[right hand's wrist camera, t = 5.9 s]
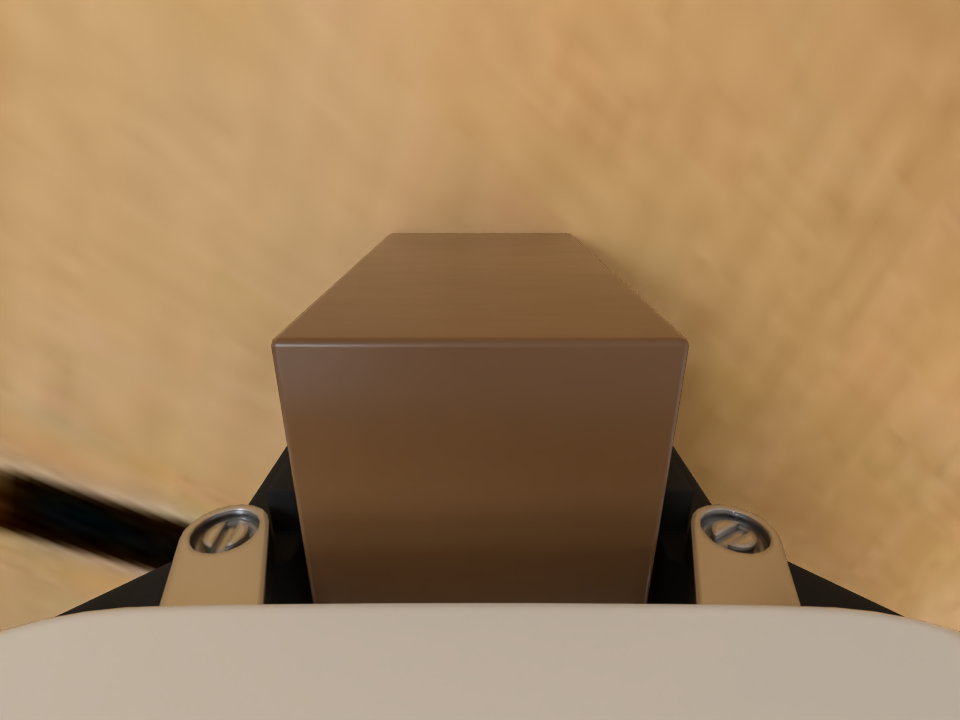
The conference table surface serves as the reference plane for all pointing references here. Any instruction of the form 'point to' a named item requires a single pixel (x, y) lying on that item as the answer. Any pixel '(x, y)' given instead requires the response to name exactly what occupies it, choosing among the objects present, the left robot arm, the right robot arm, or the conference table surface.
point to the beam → (480, 425)
